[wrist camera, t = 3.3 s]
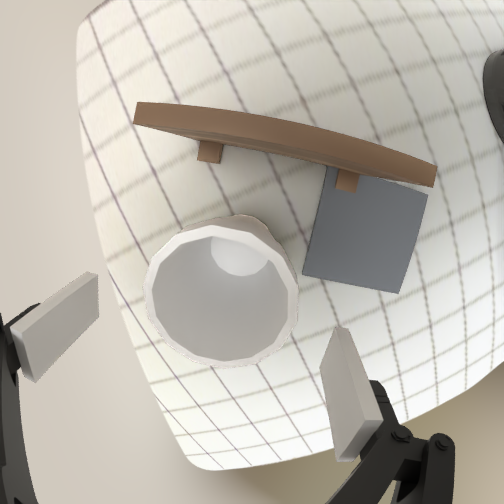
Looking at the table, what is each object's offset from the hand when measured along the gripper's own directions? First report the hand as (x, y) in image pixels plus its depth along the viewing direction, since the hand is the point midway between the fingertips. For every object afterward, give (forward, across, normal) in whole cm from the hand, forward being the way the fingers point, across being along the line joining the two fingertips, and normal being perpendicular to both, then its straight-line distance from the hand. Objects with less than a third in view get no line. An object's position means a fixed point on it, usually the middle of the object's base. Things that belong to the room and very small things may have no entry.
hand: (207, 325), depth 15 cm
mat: (+15, +12, +4) cm, 20 cm away
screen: (+15, +2, +10) cm, 18 cm away
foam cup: (+15, 0, 0) cm, 16 cm away
